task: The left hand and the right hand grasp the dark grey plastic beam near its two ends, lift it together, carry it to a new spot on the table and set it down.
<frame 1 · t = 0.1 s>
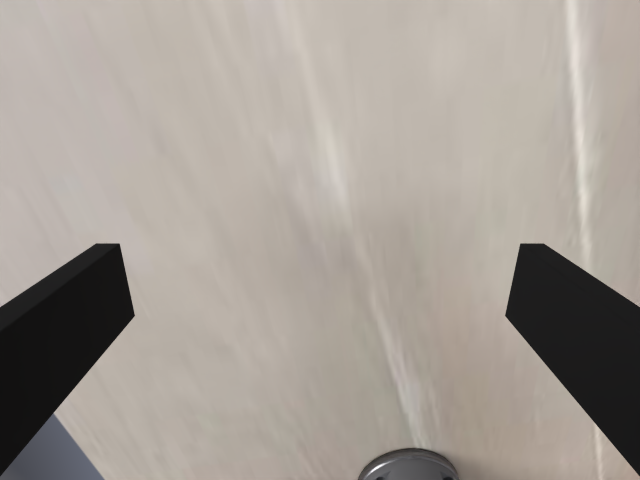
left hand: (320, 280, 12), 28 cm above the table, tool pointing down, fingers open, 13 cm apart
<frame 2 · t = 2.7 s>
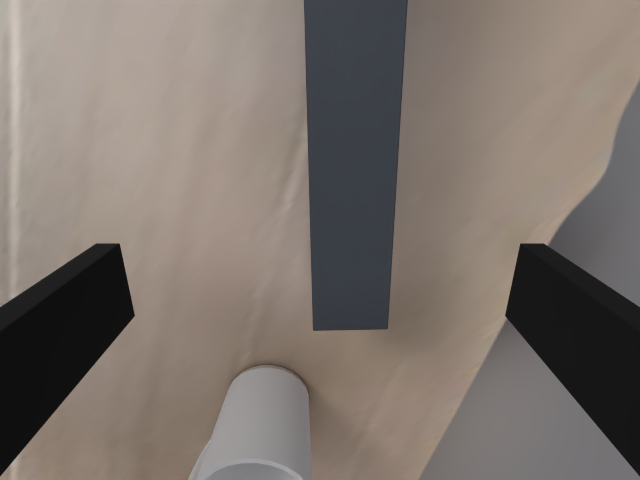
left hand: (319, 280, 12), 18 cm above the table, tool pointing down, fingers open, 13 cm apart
mug: (259, 397, 37), on the table
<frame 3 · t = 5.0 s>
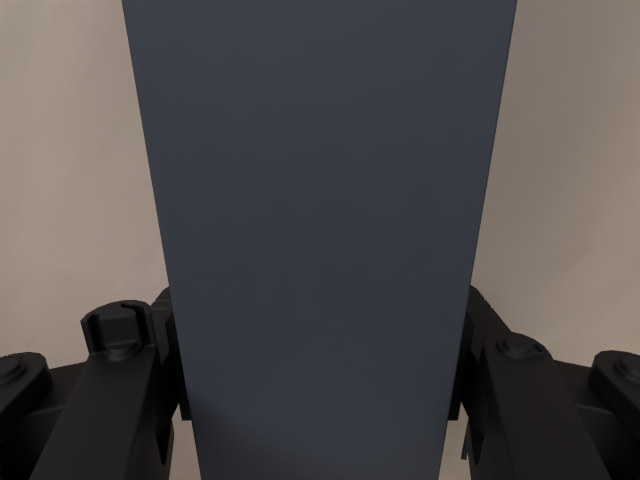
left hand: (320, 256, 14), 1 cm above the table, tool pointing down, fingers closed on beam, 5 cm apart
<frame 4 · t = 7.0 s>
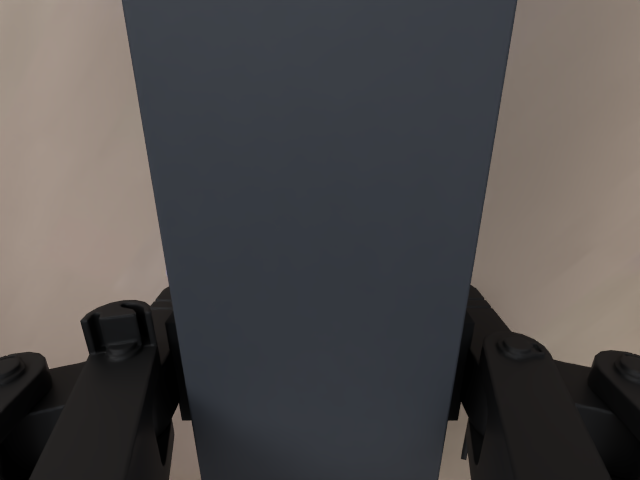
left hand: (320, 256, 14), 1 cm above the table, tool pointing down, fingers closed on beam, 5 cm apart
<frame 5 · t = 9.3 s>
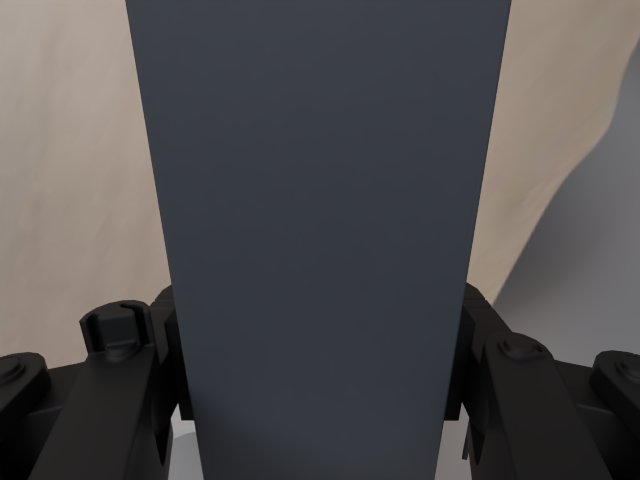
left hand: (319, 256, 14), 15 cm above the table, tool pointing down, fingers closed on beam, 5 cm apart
mug: (235, 372, 35), on the table
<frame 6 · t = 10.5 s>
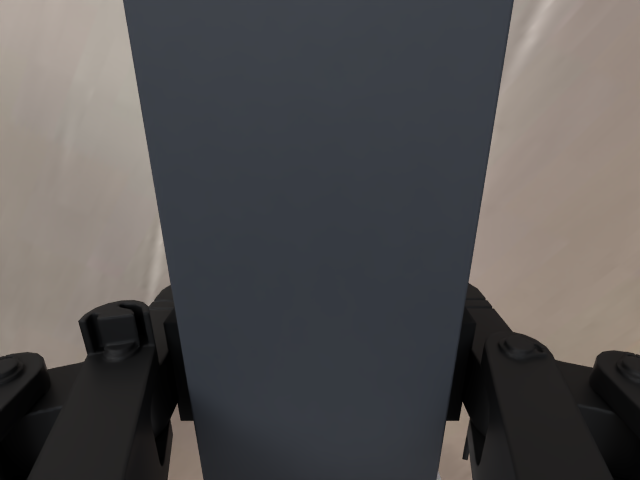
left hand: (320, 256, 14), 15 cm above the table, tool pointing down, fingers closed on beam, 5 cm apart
when the left hand's fingers open (2 cm above the table, at t = 13.6 s): beam drops 2 cm, on the table.
when the right hand's fingers open (5 cm above the table, at t = 13.8 s): beam stays where it is, on the table.
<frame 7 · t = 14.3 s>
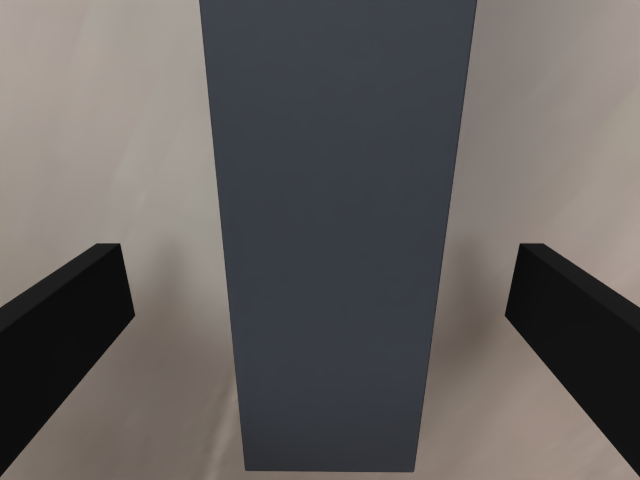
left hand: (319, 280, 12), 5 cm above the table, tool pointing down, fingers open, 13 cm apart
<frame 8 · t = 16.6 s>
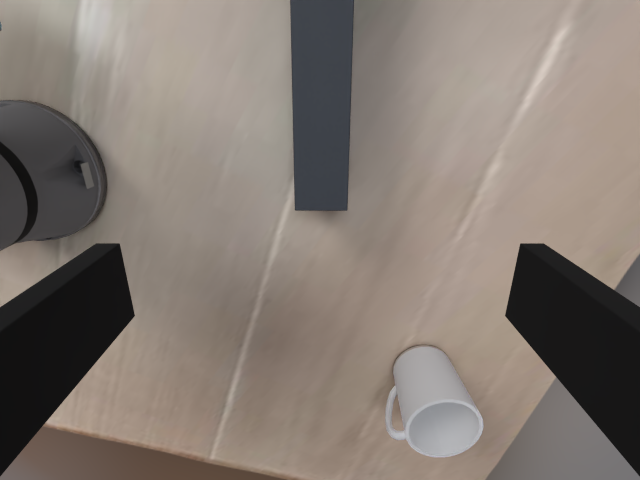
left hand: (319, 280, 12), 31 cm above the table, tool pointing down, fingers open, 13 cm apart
mug: (413, 369, 53), on the table
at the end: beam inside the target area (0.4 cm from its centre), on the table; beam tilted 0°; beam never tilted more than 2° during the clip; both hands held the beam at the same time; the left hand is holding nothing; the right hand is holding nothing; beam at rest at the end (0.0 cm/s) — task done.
